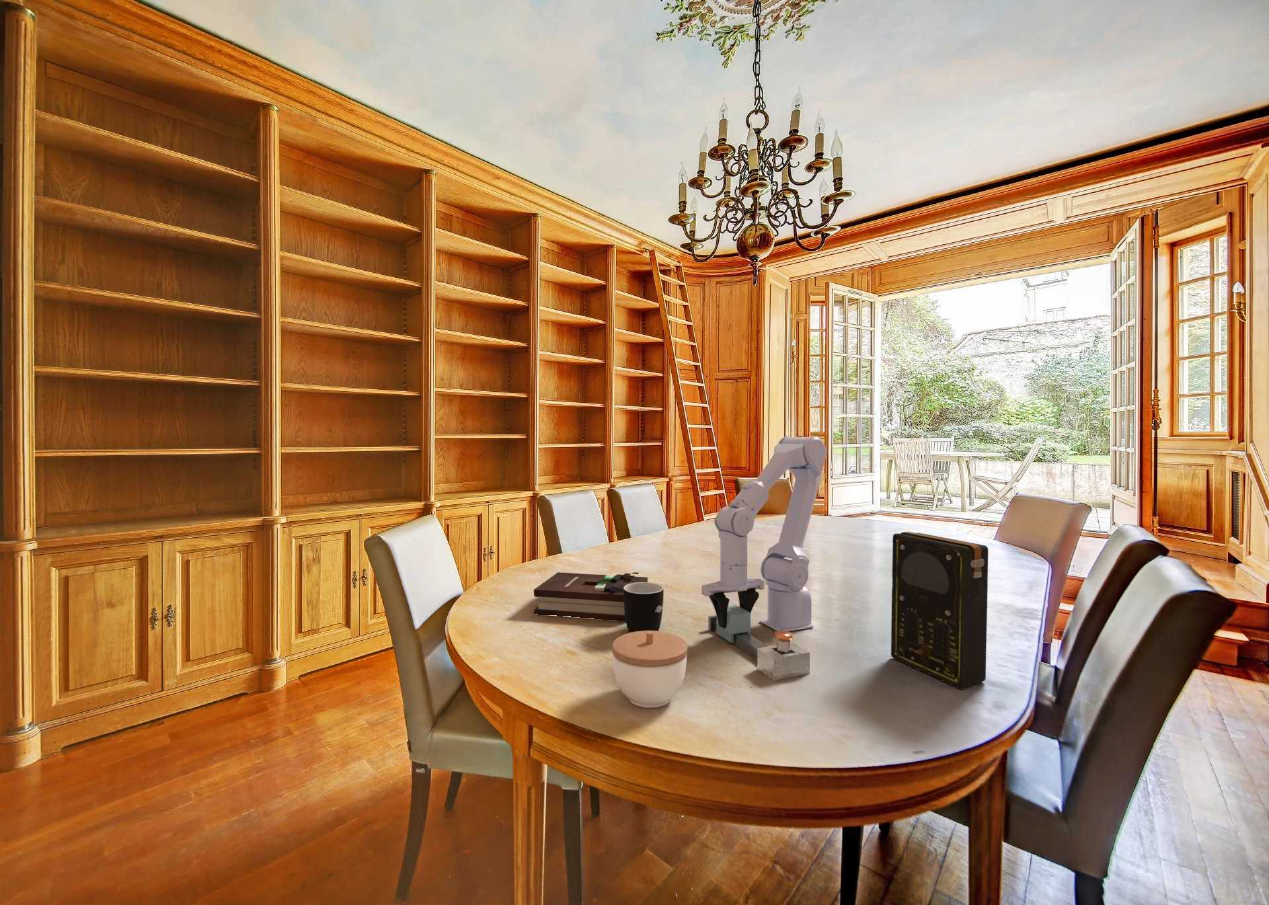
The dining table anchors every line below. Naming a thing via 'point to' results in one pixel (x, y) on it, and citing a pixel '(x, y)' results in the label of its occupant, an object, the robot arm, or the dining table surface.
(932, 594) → the voltmeter
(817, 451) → the robot arm
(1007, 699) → the dining table surface
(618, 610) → the decorative book
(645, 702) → the lidded bowl
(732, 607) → the carriage
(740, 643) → the rail
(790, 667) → the grey rectangular block
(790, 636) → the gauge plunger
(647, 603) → the mug
